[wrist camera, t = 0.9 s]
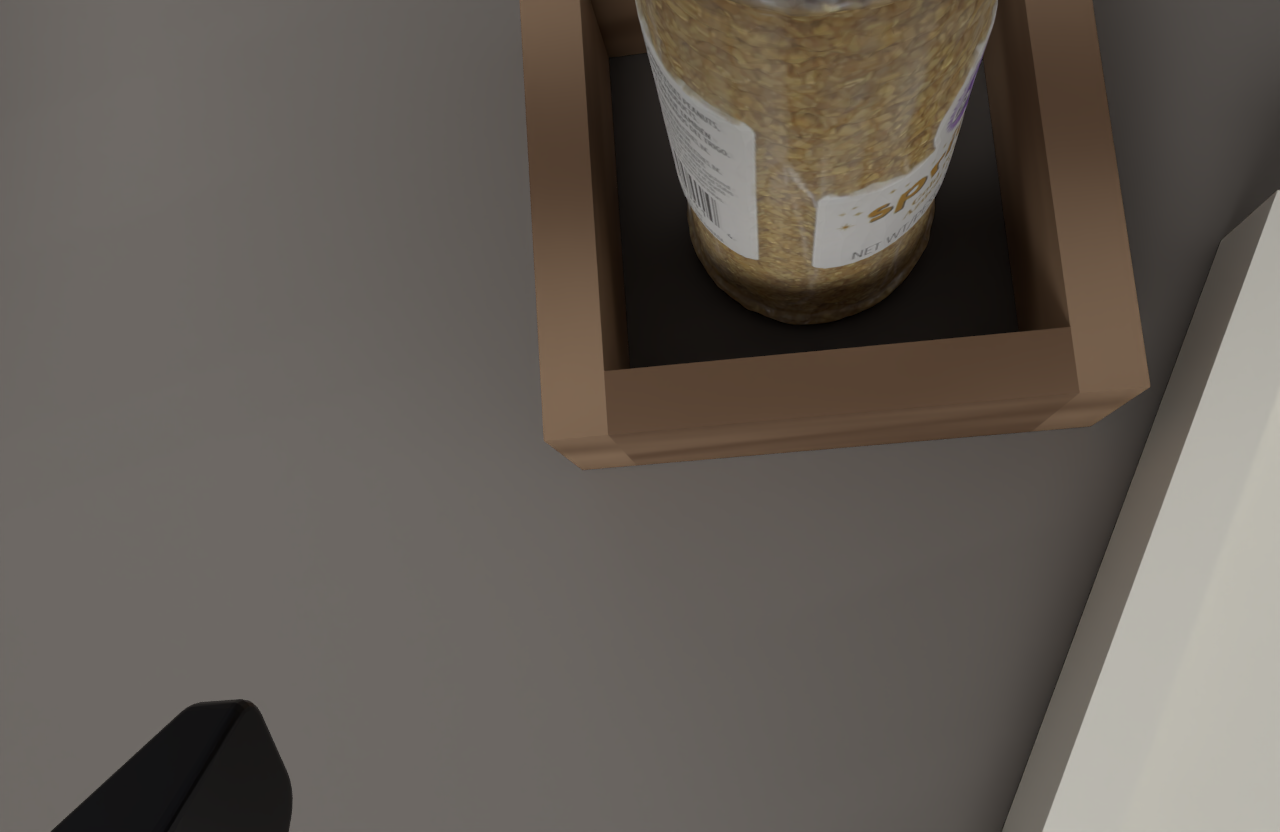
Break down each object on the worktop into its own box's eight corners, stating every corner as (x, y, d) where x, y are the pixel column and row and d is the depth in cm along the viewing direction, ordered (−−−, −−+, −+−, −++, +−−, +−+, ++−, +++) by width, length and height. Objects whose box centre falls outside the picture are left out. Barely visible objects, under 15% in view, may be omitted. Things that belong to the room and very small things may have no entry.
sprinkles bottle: (936, 327, 21) (1170, -152, 8) (683, 331, 22) (525, -112, 9) (928, 88, 22) (1131, -696, 9) (684, 98, 23) (542, -625, 10)
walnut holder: (1090, 426, 21) (1150, 387, 17) (582, 470, 22) (543, 440, 18) (1024, -44, 22) (1067, -165, 19) (554, 16, 23) (515, -89, 20)
